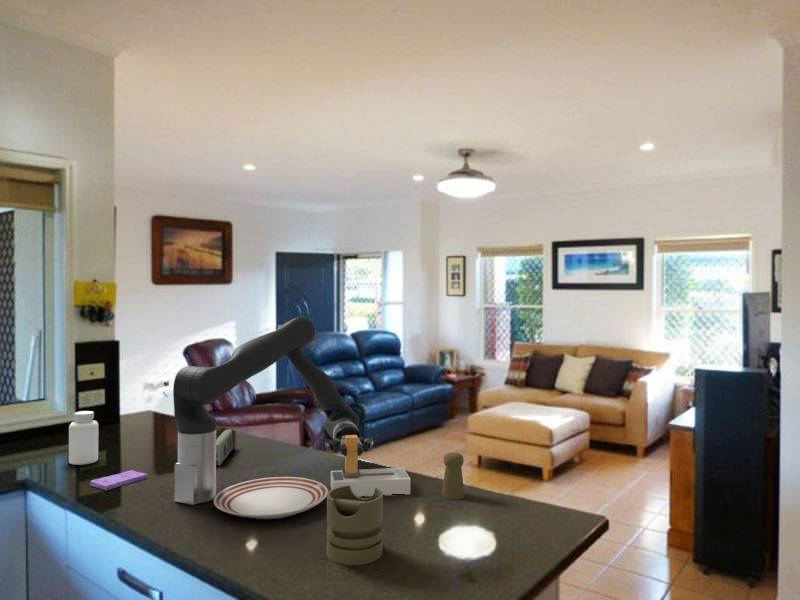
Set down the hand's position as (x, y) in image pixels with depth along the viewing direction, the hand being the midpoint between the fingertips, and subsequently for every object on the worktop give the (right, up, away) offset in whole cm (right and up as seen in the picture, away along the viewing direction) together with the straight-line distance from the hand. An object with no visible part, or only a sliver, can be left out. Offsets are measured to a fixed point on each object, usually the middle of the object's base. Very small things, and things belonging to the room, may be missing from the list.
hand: (352, 452), depth 160 cm
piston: (+3, -12, -34) cm, 37 cm away
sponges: (-64, -11, +8) cm, 66 cm away
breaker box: (+4, -11, +4) cm, 12 cm away
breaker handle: (-1, -7, +3) cm, 7 cm away
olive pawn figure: (+26, -12, 0) cm, 29 cm away
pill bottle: (-84, -10, +27) cm, 88 cm away
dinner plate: (-19, -11, -8) cm, 24 cm away
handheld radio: (-43, -10, +31) cm, 54 cm away
